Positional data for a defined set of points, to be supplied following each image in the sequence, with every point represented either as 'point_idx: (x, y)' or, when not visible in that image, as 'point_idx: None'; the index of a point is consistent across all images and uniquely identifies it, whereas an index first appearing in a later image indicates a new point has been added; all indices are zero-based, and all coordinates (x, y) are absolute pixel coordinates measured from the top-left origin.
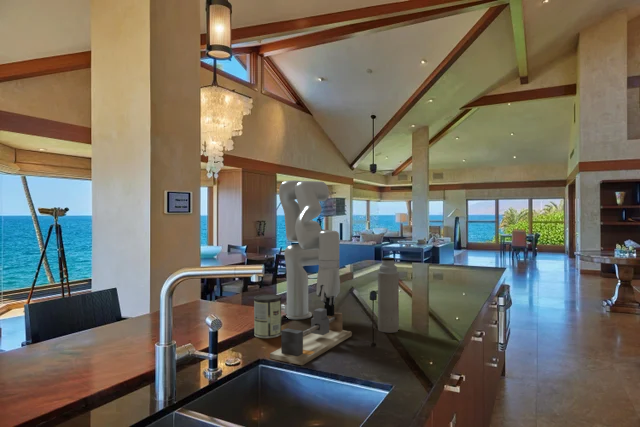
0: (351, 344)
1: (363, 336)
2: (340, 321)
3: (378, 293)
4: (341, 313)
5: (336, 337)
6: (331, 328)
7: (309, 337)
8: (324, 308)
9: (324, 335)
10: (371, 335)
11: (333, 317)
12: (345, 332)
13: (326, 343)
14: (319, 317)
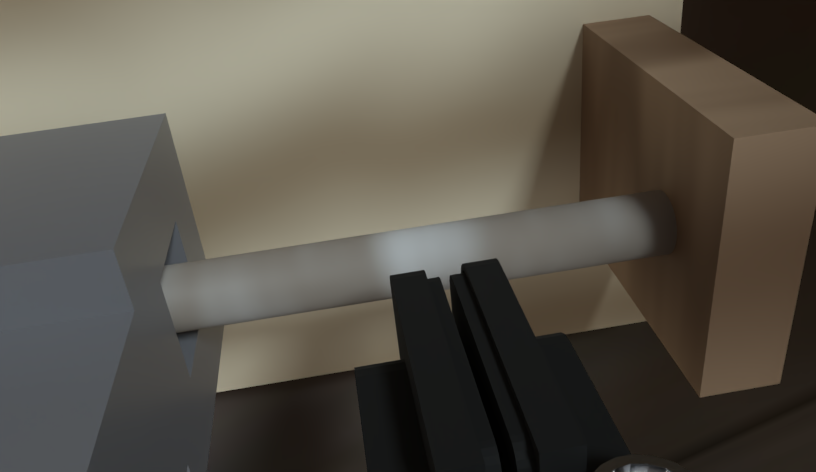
0: (344, 444)
1: (665, 386)
2: (640, 306)
3: None
4: (754, 382)
5: (315, 328)
6: (591, 87)
7: (12, 37)
8: (412, 378)
9: (281, 158)
10: (734, 420)
11: (632, 245)
12: (580, 286)
13: None
14: None
